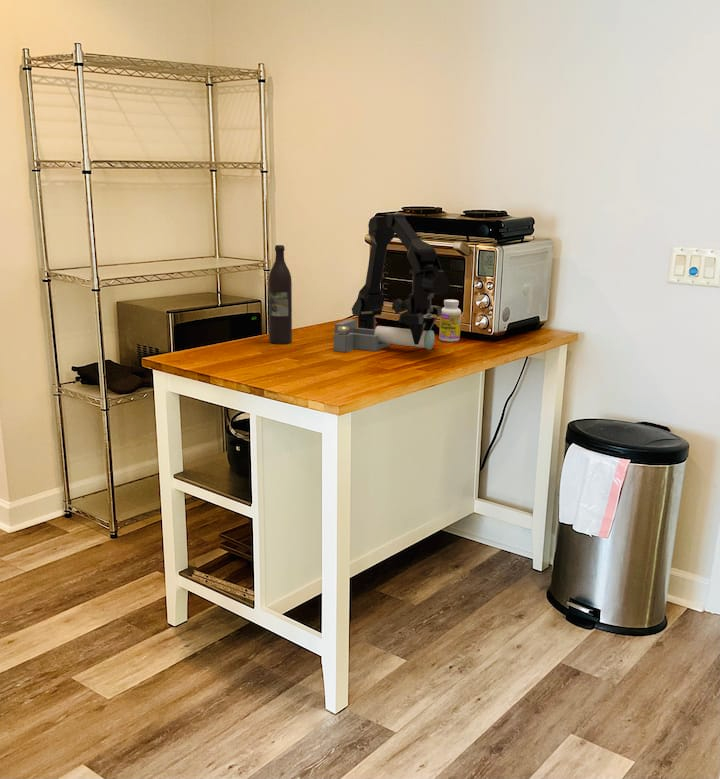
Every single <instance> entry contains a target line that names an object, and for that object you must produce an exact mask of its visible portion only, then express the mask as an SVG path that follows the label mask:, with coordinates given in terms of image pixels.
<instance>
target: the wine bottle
mask: <svg viewBox="0 0 720 779" xmlns="http://www.w3.org/2000/svg"><path fill="white" fill-rule="evenodd" d="M274 252H275V258H274V259H275V261H274V263H273V266H272V267H271V269H270V271H269V275H268V321H269V322H268V333H269V334H268V336H269V337H268V338H269V339H268V340H269V342H270V343H271V344H274V345H286V344H287V343H288V344H290V343H292V341H293V319H292V318H293V313H292V312H293V310H292V309H293V303H292V300H293V298H292V296H293V295H292V294H293V292H292V291H293V290H292V288H293V284H292V276H291V274H292V273H291V272H290V269H289V267H288V266H287V263H286V260H285V245H283V244H276V245H275V247H274Z"/></svg>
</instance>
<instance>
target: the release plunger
mask: <svg viewBox="0 0 720 779" xmlns="http://www.w3.org/2000/svg"><path fill="white" fill-rule="evenodd" d="M338 334H339V335H348V334H349V327H348V326H339V327H338Z"/></svg>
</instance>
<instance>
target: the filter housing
mask: <svg viewBox="0 0 720 779" xmlns="http://www.w3.org/2000/svg"><path fill="white" fill-rule="evenodd" d="M339 326H348V327H349V334H348V335H339V334H338V327H339ZM374 332H375V330H374V329H365V328H358V319H353V318H349V319H345V320H343V321H340V322H336V323H334V333H333V351H334V352H339V353H348V352H351V351H354V350H362V351H370V352H377V351H380V350H383V349H384V348H387V347H389V346H390V344H388V343H380V342H378V336H375V335H374Z"/></svg>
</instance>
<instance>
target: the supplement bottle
mask: <svg viewBox="0 0 720 779" xmlns="http://www.w3.org/2000/svg"><path fill="white" fill-rule="evenodd" d="M459 303H460V301H459V300H457V299H444V300H443V305H444V307H442V308H441V309H442V315H441V316H439V334H438V338H439V340H440V341H443V342H449V343H450V342H453V343H454V341H455V342H458V341H459V340H460V339H461V325H462V324H461V323H462V322H461V321H462V311H461V309H460V308H459V307H458V306H459V305H460V304H459Z"/></svg>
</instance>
